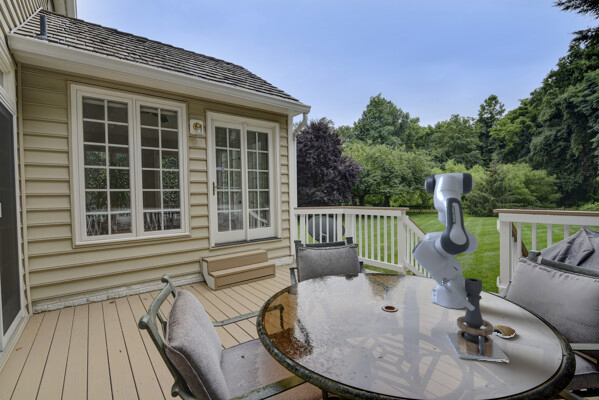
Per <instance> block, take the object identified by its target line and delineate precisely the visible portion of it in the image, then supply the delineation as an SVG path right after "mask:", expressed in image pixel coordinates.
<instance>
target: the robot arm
mask: <svg viewBox="0 0 599 400" xmlns="http://www.w3.org/2000/svg"><path fill="white" fill-rule="evenodd" d="M425 179H426V180H425V181H424V188H425V191H426V193H428V195H433V206H434V208H435V210H436V211H437V215H438V216H437V218H438V222H439V223H440V224H441V225H443V226H445V229H444V231H433V232H432V231H431V232H428V233H426V234H425V236H424V238H423V239H422V240H420V241H419V242H418V243H417V244H416V245H415V246H414V247H413V249H412V252H411V253H412V256H413V258H414V259H415V260H416V262H418V264H419V265H420V266H421V267H422V269H424V270H425V271H427V272H428V273H429V276H430V277H431V278H432V279H434V281H435V282H436V284H435V286H434V287H432V288H431V289H432V292H431V293H430V294H431V295H430V300H431V303H432V304H434V305H435V304H436V305H439V306H442V307H444V308H449V309H456V310H457V309H464V308H467V307H468V309H469V310H470V311H473V310H474V309H475V306H473V304H471V303H470V302H468V298H467V297H466V296H467V293H468V292H467V290H466V288H465V277H464V276H463V267H462V264H461V262H460V261H458V259H457V260H456V259H455V257H457V256H458V255H460V254H469V253H470V254H471V253H474V252H475V251H477V249H478V247H479V241H478V239H477V237H476V236H475V234H472V233H471V232H470V231H469V230H468V229H467V228H466V226H465V220H464V211H463V206H462V196H461V194H462V195H463V197H465V196H466V195H468V194H470V193H471V192H472V191H473V189H474V187H475V179H474V177H473V175H472V174H471V173H469V172H448V173H440V174H439V173H438V174H432V175H431V174H430V175H428V176H427V177H426V178H425Z"/></svg>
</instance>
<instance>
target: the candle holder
mask: <svg viewBox="0 0 599 400" xmlns="http://www.w3.org/2000/svg"><path fill="white" fill-rule="evenodd" d="M464 278H465V277H464ZM465 288H466V290H467V292H468V293H467V296H466V297H467V300H468V302H470V303H471V304H473V306H475V309H474V310H473V311H470V310H469V309H468V307H466V310H465V314H464V316H465V322H466V323H465V325H466V324H467V326H470V327H473V328H480V329H482V328H481V327H483V326H482V325H483V320H484V319H483V316H482V312H481V308H480V306H481V305H480V300H482V299H483V298H482V296H481V294H482V291H483V280H481V279H479V278H474V277H473V278H472V277H467V278H465ZM465 339H467V340H468V341H471V342H475V343H479V335H474V334H471V333H467V332H466V333H465Z"/></svg>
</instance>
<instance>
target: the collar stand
mask: <svg viewBox="0 0 599 400" xmlns="http://www.w3.org/2000/svg"><path fill="white" fill-rule="evenodd" d="M456 325H457V327H458V328H459V329H460V330H458V331H457V332H445V336H446V339H447V340H448V341H449V344H450V345H451V347H452V348H453V350H454V352H455V354H456V356H457V358H458V359H464V360H471V359H506V360H509V361H510V358H509V357H508V356H507V355H506V354H505V353H504V352H503V350H502V349H501V348H500V347H499V346H498V344H496V343H495V342H494V339H493V338H492V337H491V336H492V335H493V334H492V333H493V327H494V326H493V324H492V323H490V322H489V321H487V320H485V319H483V325H482V327H484V328H481V327H480V328H481V329H480V328H473V327H470V326H467V324H466V322H465V315H464V316H463V315H462V316H459V317H458V318H457V319H456ZM466 332H467V333H471V334H474V335H479V343H475V342H471V341H468V340H467V339H465V333H466ZM490 335H491V336H490Z"/></svg>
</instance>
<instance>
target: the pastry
mask: <svg viewBox="0 0 599 400" xmlns="http://www.w3.org/2000/svg"><path fill="white" fill-rule="evenodd" d="M493 332H497V333H500V334H502V336H511V335H513V334H514V333H515V332H516V330H515V329H513V328H512V327H511V326H506V325H501V324H500V325H499V324H498V325H494V326H493ZM515 334H516V333H515Z"/></svg>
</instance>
